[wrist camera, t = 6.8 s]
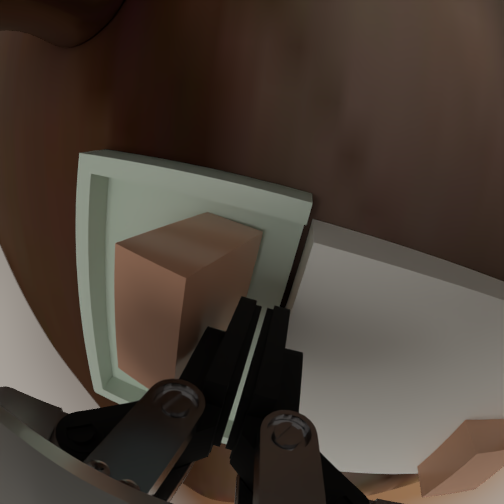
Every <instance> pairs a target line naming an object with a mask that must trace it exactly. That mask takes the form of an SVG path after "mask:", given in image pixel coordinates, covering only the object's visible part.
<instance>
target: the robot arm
mask: <svg viewBox="0 0 504 504" xmlns="http://www.w3.org/2000/svg"><path fill="white" fill-rule="evenodd" d="M256 303H257V300H254V299H250V298H246V297H243V296H241V298H240V300H239V303H238V305H237V307H236V309H235V312H234V314H233V316H232V319H231V321H230V323H229V325H228V328H227V330H226V331H222V330H219V329H216V328H213V327H209V326H208V327H207V328H206V329H205V331H204V333H203V335H202V337H201V339H200V341H199V342H198V344H197V346H196V348H195V350H194V352H193V354H192V355H191V357H190V359H189V361H188V363H187V365H186V367H185V368H184V370H183V372H182V374H181V376H180V378H179V379H164V380H162V381H159V382H157V383H156V384H154V385H153V386H152V387H151V388H150V389H149V390H148V391H147V392H146V393H145V395H144V396H143V397H142V398H141V399H140V400H138V401H134V402H129V403H124V404H119V405H114V406H109V407H103V408H97V409H91V410H86V411H78V412H74V413H71V414H68V413H65V412H63V410H62V409H61V408H59V407H56V406H54V405H51V404H49V403H46V402H43V401H41V400H38V399H36V398H34V397H31V396H29V395H26V394H24V393H22V392H20V391H17V390H15V389H13V388H10V387H0V504H172V503H170V501H171V500H172V498H173V496H174V495H175V493H176V491H177V490H178V488H179V487H180V486H181V484H182V482H183V481H184V479H185V478H186V476H187V474H188V473H189V471H190V470H191V468H192V466H193V465H194V462H195V461H197V460H200V459H203V458H205V457H208V455H209V453H210V452H211V449H212V447H213V445H216V446H219V447H220V444H221V441H222V438H223V435H224V432H225V429H226V426H227V423H228V419H229V416H230V413H231V410H232V407H233V404H234V400H235V397H236V394H237V391H238V387H239V384H240V381H241V378H242V374H243V371H244V368H245V364H246V361H247V358H248V354H249V351H250V347H251V344H252V340H253V337H254V333H255V330H256V326H257V323H258V319H259V316H260V312H261V309H262V306H259V305H256ZM289 317H290V309H287V308H283V307H279V306H274V308H273V309H270V308H267V310H266V314H265V317H264V320H263V324H262V327H261V331H260V334H259V337H258V341H257V344H256V347H255V350H254V354H253V357H252V360H251V364H250V367H249V370H248V374H247V377H246V381H245V384H244V388H243V391H242V394H241V398H240V401H239V405H238V408H237V411H236V415H235V418H234V421H233V425H232V428H231V431H230V435H229V438H228V441H227V444H226V449H230V450H232V452H231V455H230V459H231V460H230V464H231V465H232V467H233V468H234V469H235V471H236V472H237V473H238V474H237V477H236V491H235V504H402V503H397V502H391V501H386V500H381V499H376V500H375V501H372V500H368V499H367V497H366V496H365V495H364V494H363V493H362V492H361V491H360V490H359V489H358V488H357V487H356V486H355V485H354V484H352V483H351V482H350V481H349V480H348V479H347V478H346V477H345V476H344V475H343V474H342V473H341V472H340V471H339V470H338V469H337V468H336V467H335V466H334V465H333V464H332V463H331V462H330V461H329V460H328V459H327V458H326V457H325V456H324V455H323V454H322V453H321V452H320V449H319V441H318V434H317V431H316V428H315V426H314V424H313V423H312V422H311V420H309V419H308V418H307V417H306V416H304V415H302V414H300V413H299V405H300V393H301V381H302V367H303V352H299V351H295V350H291V349H287V348H285V347H286V340H287V332H288V325H289Z"/></svg>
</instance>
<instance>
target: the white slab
mask: <svg viewBox="0 0 504 504" xmlns="http://www.w3.org/2000/svg"><path fill="white" fill-rule="evenodd" d="M285 308H287V309H290V317H289V325H288V332H287V340H286V347H285V348H287V349H291V350H295V351H299V352H303V367H302V381H301V393H300V405H299V413H300V414H302V415H304V416H306V417H307V418H308V419H309V420H311V422H312V423H313V424H314V426H315V428H316V431H317V434H318V441H319V449H320V452H321V453H322V454H323V455H324V456H325V457H326V458H327V459H328V460H329V461H330V462H331V463H332V464H333V465H334V466H335V467H336V468H337V469H338V470H339V471H344V472H356V473H376V474H415V473H418V468H417V466H418V465H420V464H421V463H422V462H423V461H424V460H425V459H426V458H428V457H429V456H430V455H431V454H432V453H433V452H434V451H435V450H436V449H437V448H438V447H439V446H440V445H441V444H442V443H443V442H444V441H445V440H446V439H447V438H448V437H449V436H450V435H451V434H452V433H453V432H454V431H455V430H456V429H457V428H458V427H459V426H460V425H461V424H462V423H463V422H464V421H465V420H487V419H504V281H501V280H498V279H496V278H493V277H490V276H488V275H485V274H482V273H480V272H477V271H474V270H471V269H469V268H466V267H463V266H460V265H458V264H455V263H452V262H449V261H446V260H443V259H440V258H437V257H435V256H432V255H429V254H426V253H423V252H420V251H417V250H414V249H411V248H408V247H404V246H401V245H398V244H395V243H392V242H389V241H386V240H383V239H379V238H376V237H373V236H370V235H366V234H363V233H360V232H357V231H353V230H350V229H346V228H343V227H340V226H336V225H333V224H329V223H326V222H322V221H319V220H315V219H312V222H311V226H310V229H309V233H308V236H307V239H306V243H305V246H304V249H303V253H302V256H301V259H300V263H299V266H298V269H297V272H296V276H295V279H294V282H293V285H292V288H291V291H290V294H289V298H288V301H287V304H286V307H285Z"/></svg>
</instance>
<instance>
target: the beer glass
mask: <svg viewBox="0 0 504 504" xmlns="http://www.w3.org/2000/svg"><path fill="white" fill-rule="evenodd" d="M123 1H124V0H0V31H6V30H7V31H19V32H23V33H28V34H31V35H33V36H36V37H38V38H40V39H42V40H44V41H46V42H48V43H50V44H52V45H54V46H57V47H61V48H68V47H73V46H77V45H79V44H81V43H83V42H85V41H87V40H88V39H90V38H91V37H93V36H94V35H95V34H97V33H98V32H99V31H100V30H101V29H102V28H103V27H104V26H105V25H106V24H107V23H108V22H109V21H110V20H111V19H112V17H113V16H114V15H115V14H116V12H117V11H118V9H119V8H120V6H121V5H122V3H123Z"/></svg>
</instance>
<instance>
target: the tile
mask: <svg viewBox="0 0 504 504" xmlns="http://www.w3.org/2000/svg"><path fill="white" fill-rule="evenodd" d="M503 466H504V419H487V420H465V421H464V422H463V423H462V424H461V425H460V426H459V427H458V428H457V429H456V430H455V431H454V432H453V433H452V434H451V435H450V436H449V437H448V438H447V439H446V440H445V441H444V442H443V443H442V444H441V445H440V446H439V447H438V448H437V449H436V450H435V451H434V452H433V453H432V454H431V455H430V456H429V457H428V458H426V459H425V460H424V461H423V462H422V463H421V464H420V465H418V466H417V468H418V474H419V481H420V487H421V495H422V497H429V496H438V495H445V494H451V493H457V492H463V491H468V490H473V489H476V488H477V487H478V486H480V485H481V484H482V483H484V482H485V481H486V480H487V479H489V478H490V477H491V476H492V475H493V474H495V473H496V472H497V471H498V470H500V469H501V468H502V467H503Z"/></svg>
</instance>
